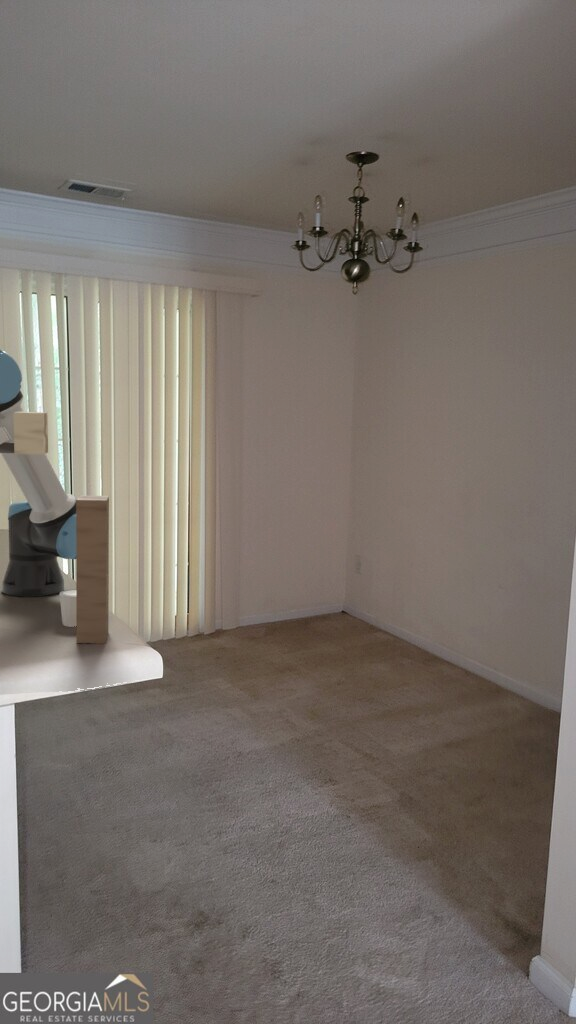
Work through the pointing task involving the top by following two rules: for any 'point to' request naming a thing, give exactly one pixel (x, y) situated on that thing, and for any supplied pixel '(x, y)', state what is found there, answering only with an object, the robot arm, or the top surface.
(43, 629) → the top surface
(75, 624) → the white cup
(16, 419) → the beige wooden block
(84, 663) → the top surface
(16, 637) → the top surface
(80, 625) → the brown wooden tall block
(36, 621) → the top surface
